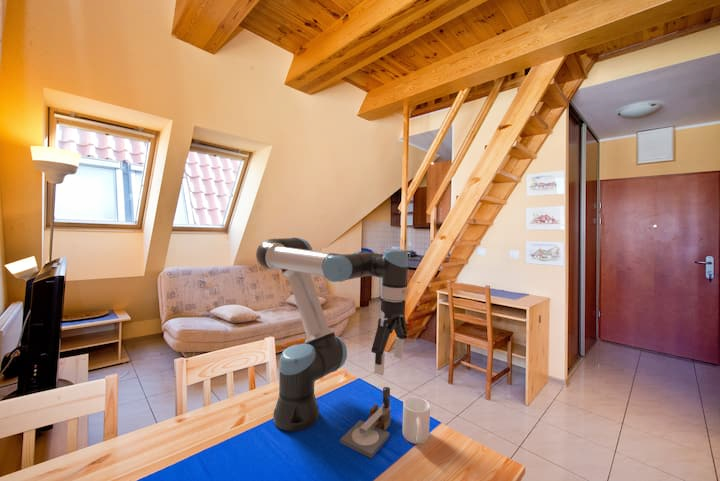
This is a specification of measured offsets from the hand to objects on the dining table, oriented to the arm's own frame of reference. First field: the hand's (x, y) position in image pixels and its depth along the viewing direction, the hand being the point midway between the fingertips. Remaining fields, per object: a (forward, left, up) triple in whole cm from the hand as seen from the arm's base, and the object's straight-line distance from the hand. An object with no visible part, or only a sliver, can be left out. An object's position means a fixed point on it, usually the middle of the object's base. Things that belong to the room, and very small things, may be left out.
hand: (389, 365), depth 99 cm
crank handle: (-4, 0, -20) cm, 20 cm away
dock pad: (-4, -7, -22) cm, 23 cm away
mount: (-4, +2, -22) cm, 22 cm away
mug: (+9, +2, -22) cm, 24 cm away
